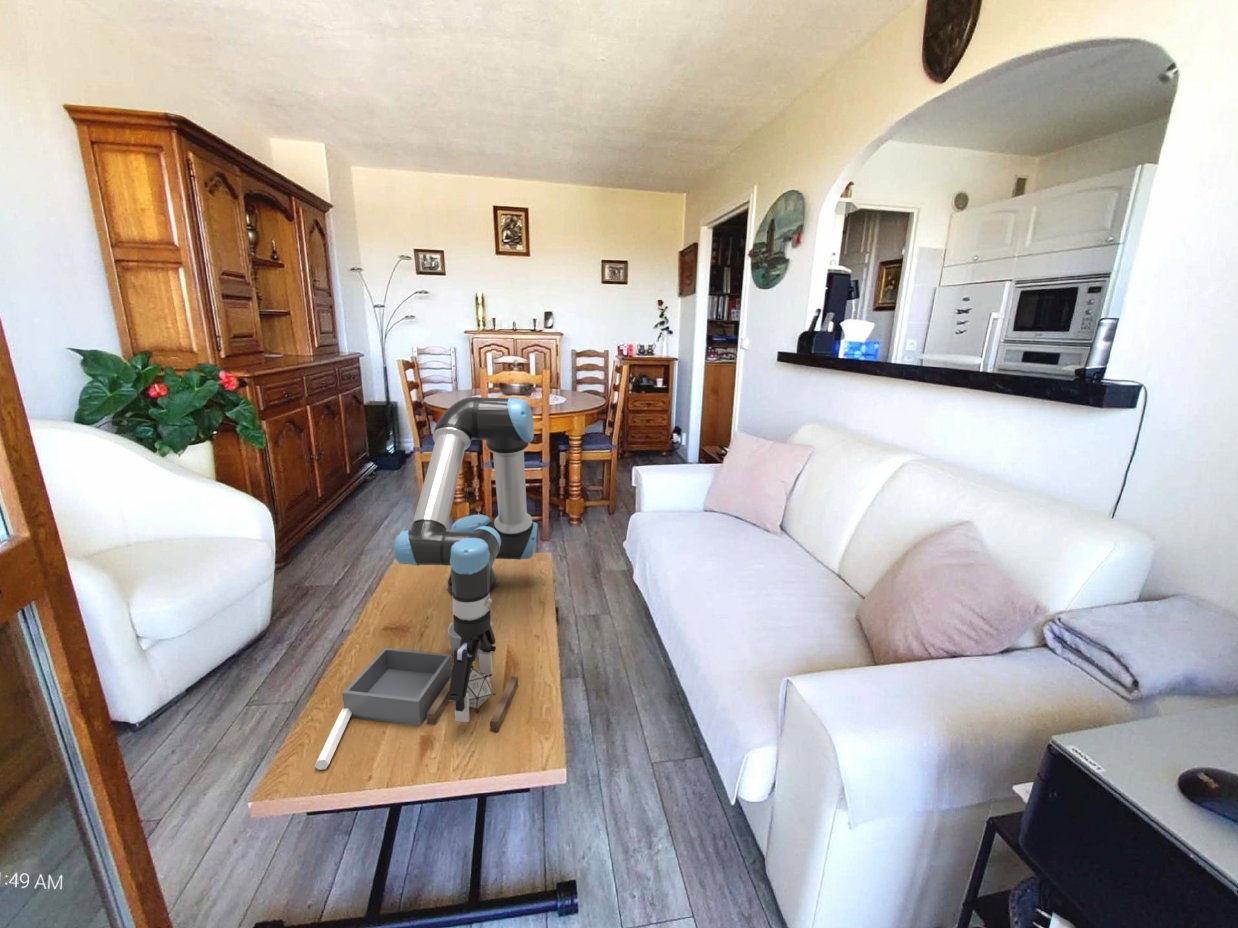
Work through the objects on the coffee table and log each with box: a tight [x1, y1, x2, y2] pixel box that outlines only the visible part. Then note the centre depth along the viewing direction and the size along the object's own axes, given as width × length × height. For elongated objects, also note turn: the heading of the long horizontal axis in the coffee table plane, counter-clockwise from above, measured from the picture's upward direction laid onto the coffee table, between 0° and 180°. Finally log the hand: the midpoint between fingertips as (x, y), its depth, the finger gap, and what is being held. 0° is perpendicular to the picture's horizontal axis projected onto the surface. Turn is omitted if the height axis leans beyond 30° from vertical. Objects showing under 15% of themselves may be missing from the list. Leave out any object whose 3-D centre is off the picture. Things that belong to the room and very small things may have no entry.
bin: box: [341, 647, 453, 727], centre depth 109 cm, size 16×17×6 cm
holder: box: [426, 675, 519, 733], centre depth 108 cm, size 14×15×2 cm
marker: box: [314, 707, 352, 771], centre depth 98 cm, size 3×2×16 cm
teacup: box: [446, 620, 493, 659], centre depth 126 cm, size 14×11×8 cm
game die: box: [466, 664, 497, 714], centre depth 107 cm, size 9×8×10 cm
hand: (475, 697), depth 108 cm, fingers open, 13 cm apart
